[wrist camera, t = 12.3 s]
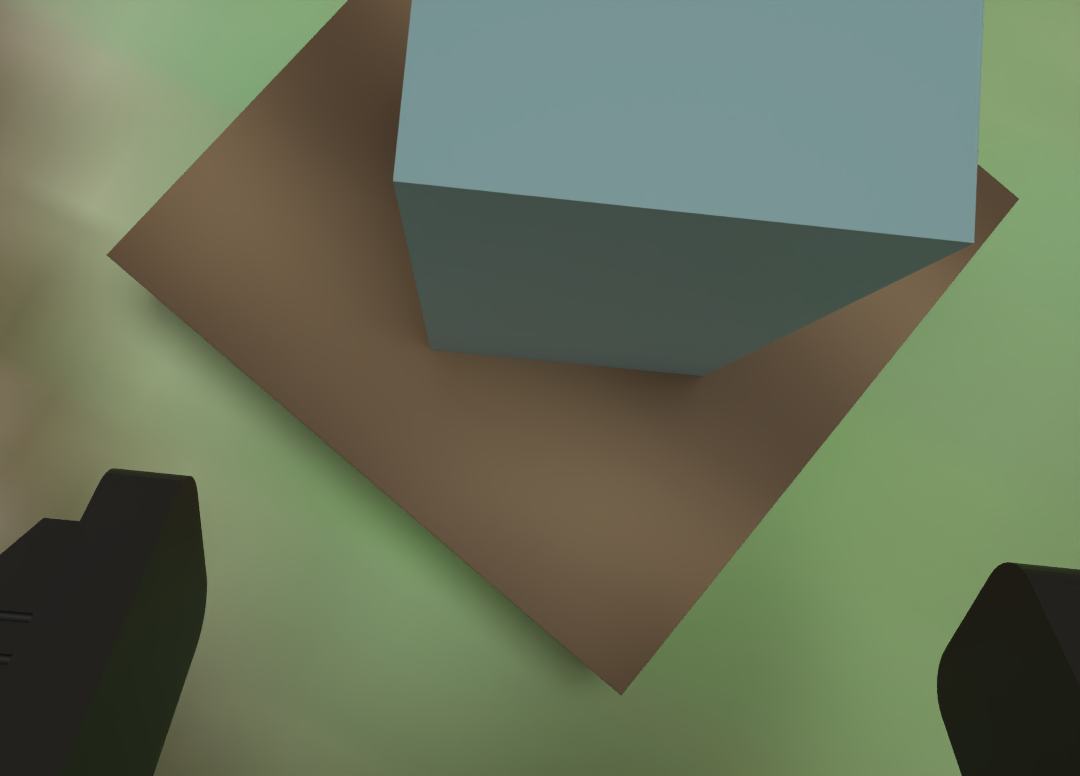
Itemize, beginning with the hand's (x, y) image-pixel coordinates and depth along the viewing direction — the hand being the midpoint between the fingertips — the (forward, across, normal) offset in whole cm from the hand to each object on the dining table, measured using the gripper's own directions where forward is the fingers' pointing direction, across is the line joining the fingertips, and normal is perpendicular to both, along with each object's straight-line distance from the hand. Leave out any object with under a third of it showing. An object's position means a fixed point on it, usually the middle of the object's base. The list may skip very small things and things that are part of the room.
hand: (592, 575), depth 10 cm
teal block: (+10, 0, +2) cm, 10 cm away
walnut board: (+12, 0, +4) cm, 12 cm away
